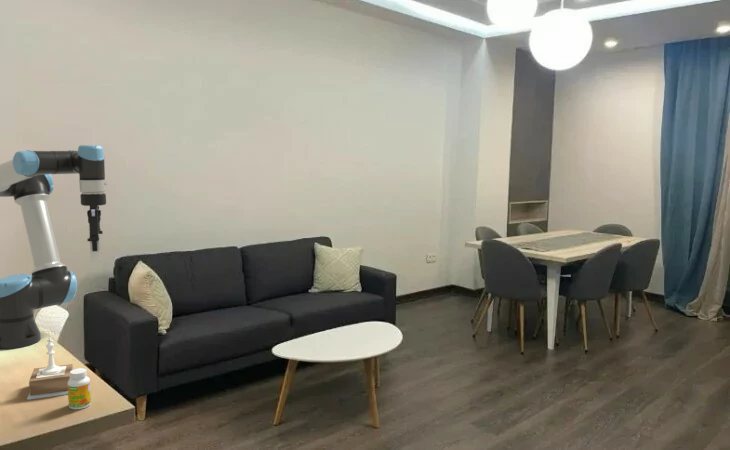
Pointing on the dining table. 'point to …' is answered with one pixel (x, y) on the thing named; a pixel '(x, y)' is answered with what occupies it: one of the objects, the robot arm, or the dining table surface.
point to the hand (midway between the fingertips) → (96, 257)
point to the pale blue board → (47, 395)
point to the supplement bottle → (79, 389)
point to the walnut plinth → (49, 381)
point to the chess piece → (51, 361)
